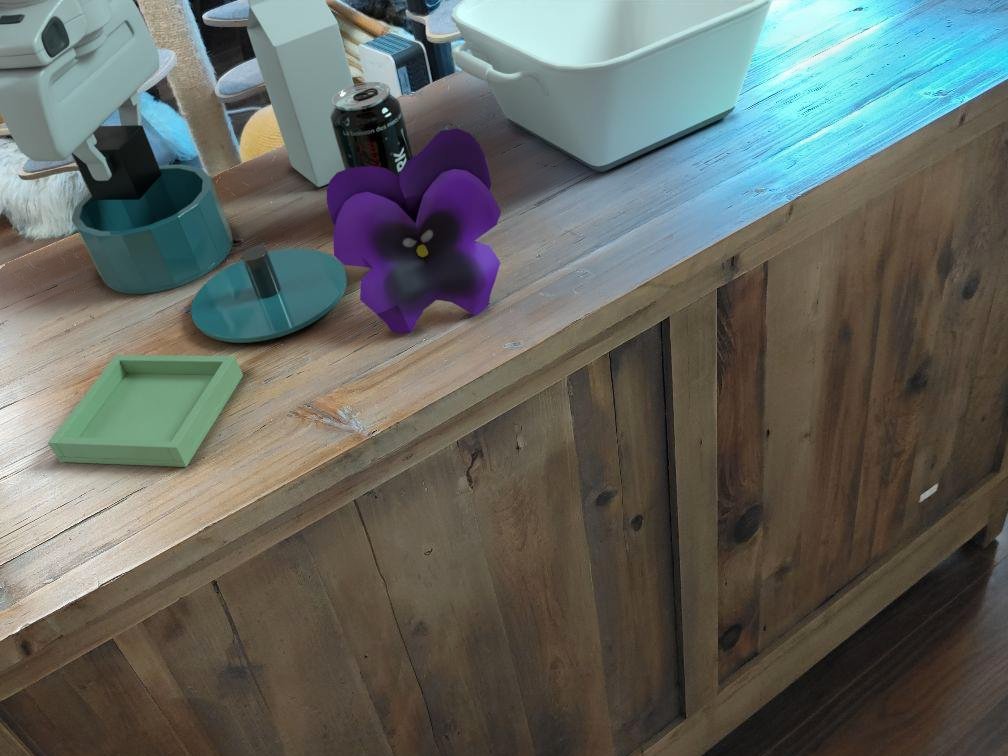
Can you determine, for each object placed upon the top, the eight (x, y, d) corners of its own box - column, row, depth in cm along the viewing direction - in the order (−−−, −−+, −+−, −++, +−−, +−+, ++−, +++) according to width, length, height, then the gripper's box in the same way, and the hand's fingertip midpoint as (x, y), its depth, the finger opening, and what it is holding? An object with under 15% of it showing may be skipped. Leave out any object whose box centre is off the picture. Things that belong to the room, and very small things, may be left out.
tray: (59, 462, 82) (47, 442, 81) (125, 373, 90) (115, 354, 88) (186, 467, 79) (176, 447, 78) (243, 375, 87) (235, 355, 85)
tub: (559, 225, 97) (541, 92, 88) (427, 139, 114) (401, 20, 105) (821, 103, 107) (830, -28, 98) (665, 41, 124) (660, -76, 115)
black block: (93, 200, 97) (70, 150, 94) (117, 174, 100) (96, 125, 97) (139, 200, 96) (118, 149, 92) (162, 174, 99) (142, 124, 96)
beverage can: (435, 210, 102) (408, 92, 94) (376, 236, 100) (343, 118, 92) (405, 187, 107) (377, 72, 98) (348, 211, 105) (314, 96, 96)
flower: (360, 335, 98) (361, 348, 85) (312, 175, 93) (305, 164, 80) (504, 296, 99) (526, 303, 86) (464, 137, 94) (481, 120, 82)
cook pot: (77, 294, 101) (46, 236, 96) (139, 222, 109) (113, 166, 105) (199, 294, 97) (173, 234, 93) (253, 220, 106) (231, 162, 102)
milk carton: (375, 165, 111) (326, -21, 98) (318, 189, 109) (260, 2, 95) (347, 145, 116) (296, -36, 102) (292, 168, 114) (232, -13, 100)
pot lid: (168, 347, 92) (145, 299, 88) (232, 259, 101) (214, 212, 98) (317, 349, 88) (300, 299, 85) (369, 257, 98) (355, 209, 94)
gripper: (81, -35, 94) (141, 112, 104) (-45, 57, 80) (38, 215, 90) (141, -39, 92) (196, 110, 102) (24, 53, 79) (100, 215, 89)
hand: (121, 160), depth 96 cm, fingers closed on black block, 5 cm apart
